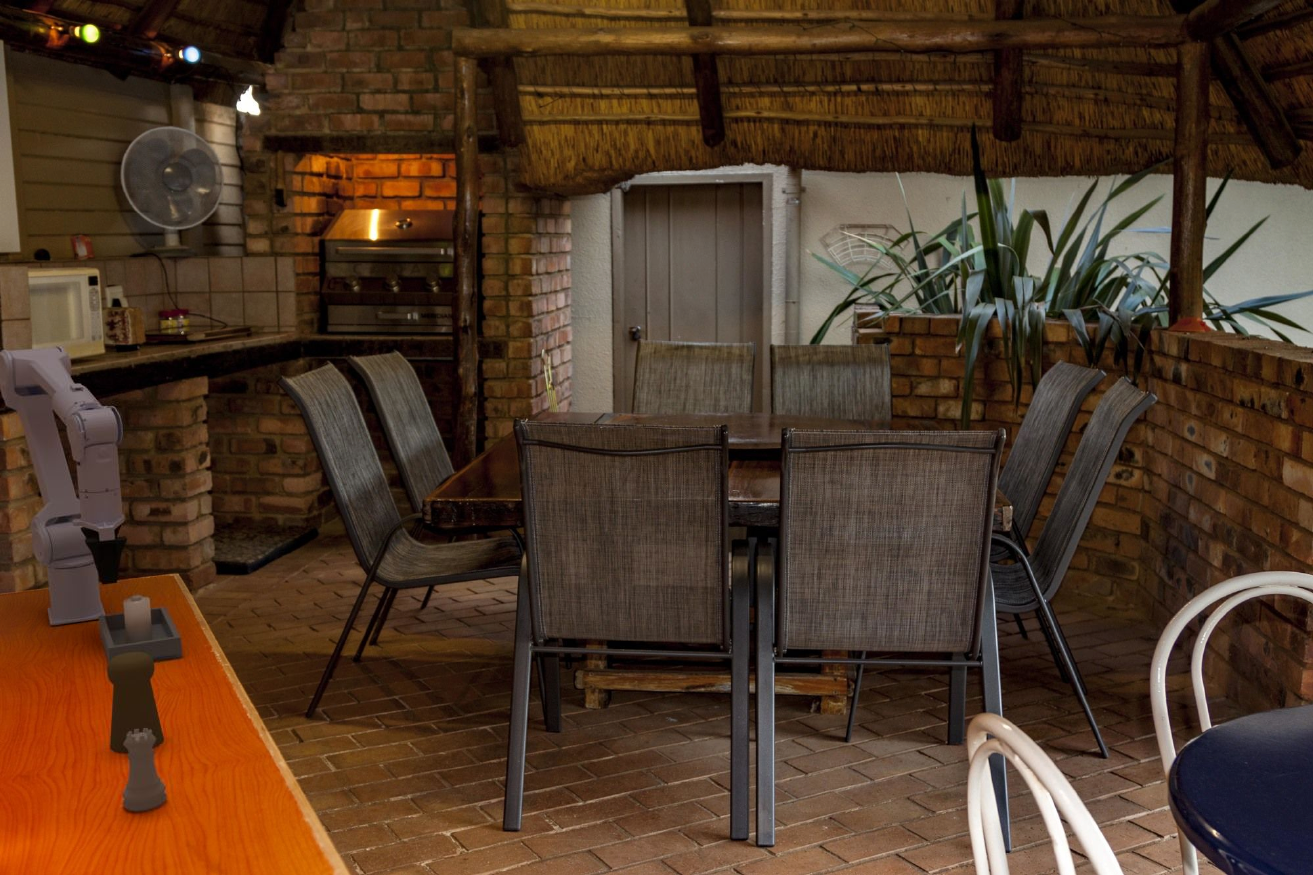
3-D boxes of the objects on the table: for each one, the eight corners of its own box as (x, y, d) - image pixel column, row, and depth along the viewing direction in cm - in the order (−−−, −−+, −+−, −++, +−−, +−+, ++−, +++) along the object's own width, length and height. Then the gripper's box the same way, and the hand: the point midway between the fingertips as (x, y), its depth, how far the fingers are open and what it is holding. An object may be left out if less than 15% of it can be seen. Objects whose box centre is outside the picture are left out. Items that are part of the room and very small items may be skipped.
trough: (100, 634, 191) (98, 615, 191) (166, 624, 196) (165, 606, 195) (110, 668, 176) (108, 648, 175) (182, 657, 180) (180, 637, 180)
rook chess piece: (122, 816, 131) (116, 744, 130) (122, 799, 135) (116, 728, 134) (168, 808, 133) (162, 736, 131) (166, 791, 137) (160, 721, 135)
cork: (151, 753, 147) (144, 663, 145) (100, 753, 147) (92, 663, 145) (172, 733, 153) (165, 646, 151) (123, 733, 153) (115, 646, 151)
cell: (125, 640, 186) (121, 594, 185) (151, 636, 188) (147, 591, 187) (127, 647, 183) (124, 600, 182) (153, 643, 185) (150, 597, 184)
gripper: (67, 483, 191) (74, 569, 193) (73, 500, 178) (81, 592, 181) (117, 478, 194) (124, 563, 197) (126, 495, 182) (134, 585, 184)
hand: (107, 577), depth 189 cm, fingers open, 7 cm apart
